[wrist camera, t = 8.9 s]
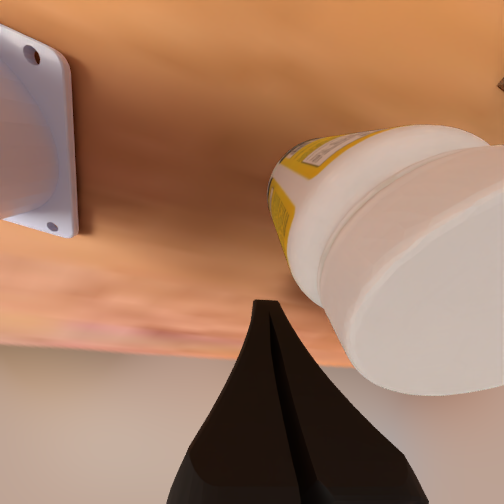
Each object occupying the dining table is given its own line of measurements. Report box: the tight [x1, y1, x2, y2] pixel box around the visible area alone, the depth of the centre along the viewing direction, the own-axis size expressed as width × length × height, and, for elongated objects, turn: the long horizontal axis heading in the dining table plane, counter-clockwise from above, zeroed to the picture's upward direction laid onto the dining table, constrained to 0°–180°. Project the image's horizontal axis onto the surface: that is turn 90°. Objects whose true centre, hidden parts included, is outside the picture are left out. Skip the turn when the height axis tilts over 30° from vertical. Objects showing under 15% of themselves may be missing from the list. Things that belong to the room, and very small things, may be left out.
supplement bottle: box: [267, 125, 504, 396], centre depth 6 cm, size 5×5×8 cm
